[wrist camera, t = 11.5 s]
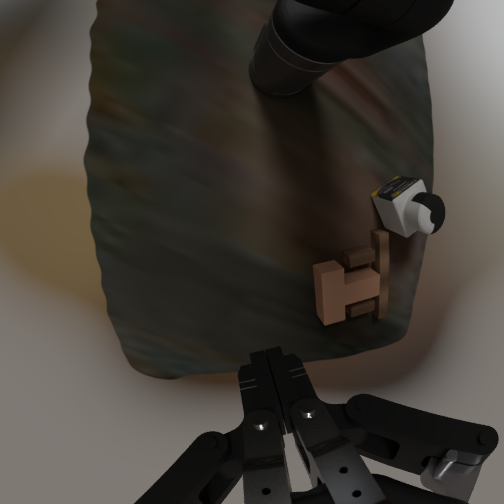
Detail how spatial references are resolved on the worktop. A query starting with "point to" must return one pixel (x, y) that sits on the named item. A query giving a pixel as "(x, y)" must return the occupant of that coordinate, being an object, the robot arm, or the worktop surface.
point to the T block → (341, 289)
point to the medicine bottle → (408, 207)
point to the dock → (379, 264)
